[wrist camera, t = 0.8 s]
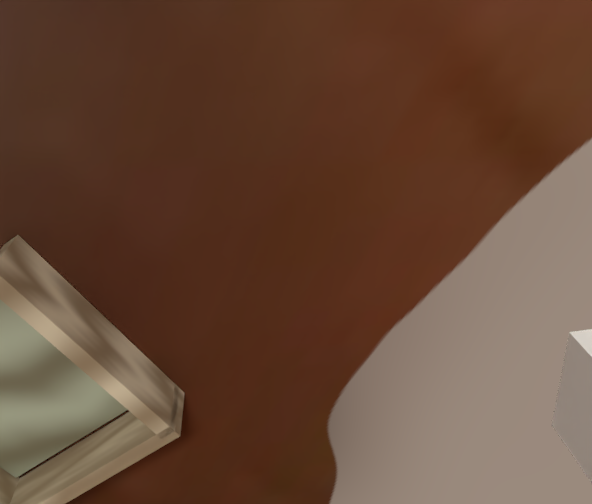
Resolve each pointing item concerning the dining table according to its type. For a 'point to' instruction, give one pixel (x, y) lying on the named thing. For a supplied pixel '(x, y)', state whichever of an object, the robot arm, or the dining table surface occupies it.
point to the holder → (70, 388)
